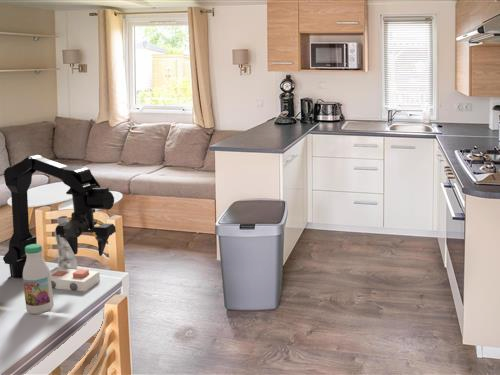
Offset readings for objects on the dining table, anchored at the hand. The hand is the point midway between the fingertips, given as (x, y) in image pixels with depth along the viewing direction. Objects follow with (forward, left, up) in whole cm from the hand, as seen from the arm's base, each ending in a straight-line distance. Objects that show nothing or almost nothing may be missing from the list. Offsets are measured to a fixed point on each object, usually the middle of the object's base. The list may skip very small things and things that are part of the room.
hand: (88, 254), depth 177 cm
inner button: (-12, 0, -9) cm, 15 cm away
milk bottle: (-7, -17, -12) cm, 22 cm away
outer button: (-4, 0, -8) cm, 9 cm away
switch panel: (-8, 0, -12) cm, 14 cm away
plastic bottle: (-17, +12, -12) cm, 24 cm away
